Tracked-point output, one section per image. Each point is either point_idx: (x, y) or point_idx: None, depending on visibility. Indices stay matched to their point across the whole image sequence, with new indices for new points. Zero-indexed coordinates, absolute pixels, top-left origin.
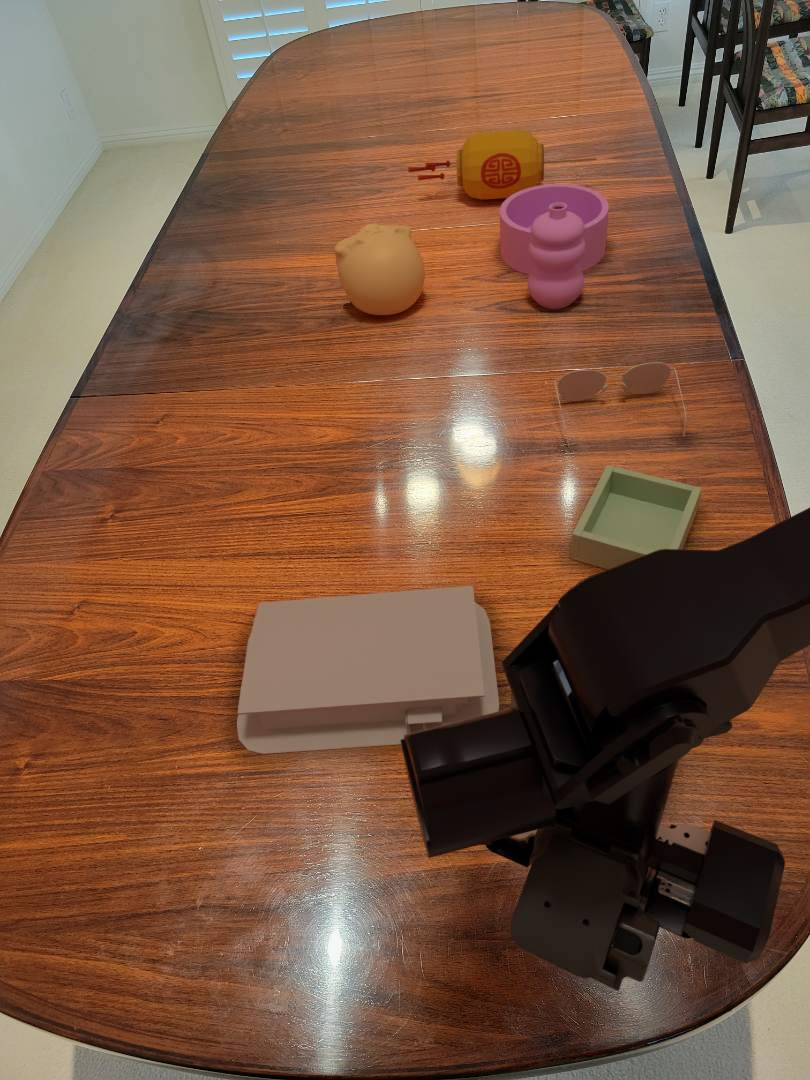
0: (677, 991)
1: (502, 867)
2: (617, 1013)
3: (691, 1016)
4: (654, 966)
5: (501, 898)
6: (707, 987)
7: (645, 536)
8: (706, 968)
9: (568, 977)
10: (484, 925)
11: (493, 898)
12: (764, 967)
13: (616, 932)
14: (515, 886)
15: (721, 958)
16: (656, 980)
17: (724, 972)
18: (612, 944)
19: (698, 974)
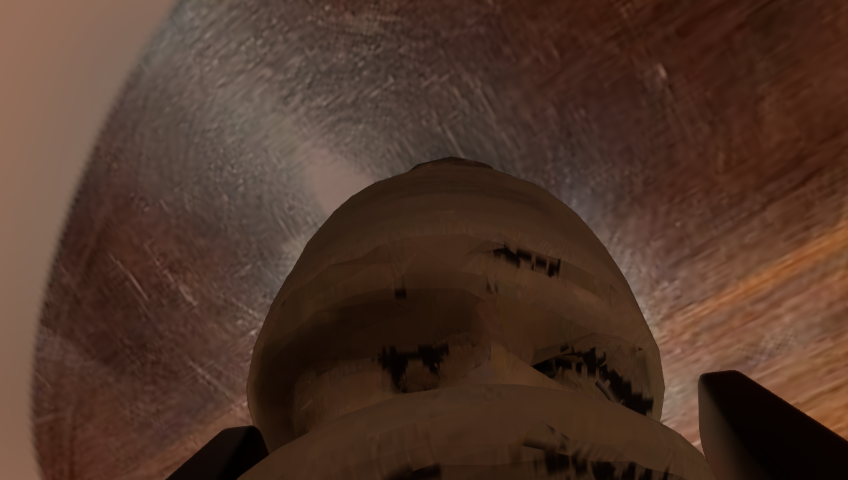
0: (160, 200)
1: (812, 221)
2: (257, 37)
3: (91, 163)
4: (248, 224)
5: (774, 131)
6: (106, 255)
7: None
8: (138, 296)
9: (445, 39)
10: (796, 12)
11: (801, 115)
12: (35, 373)
13: (272, 321)
14: (743, 192)
15: (125, 338)
16: (222, 193)
17: (98, 312)
18: (310, 240)
19: (144, 271)
